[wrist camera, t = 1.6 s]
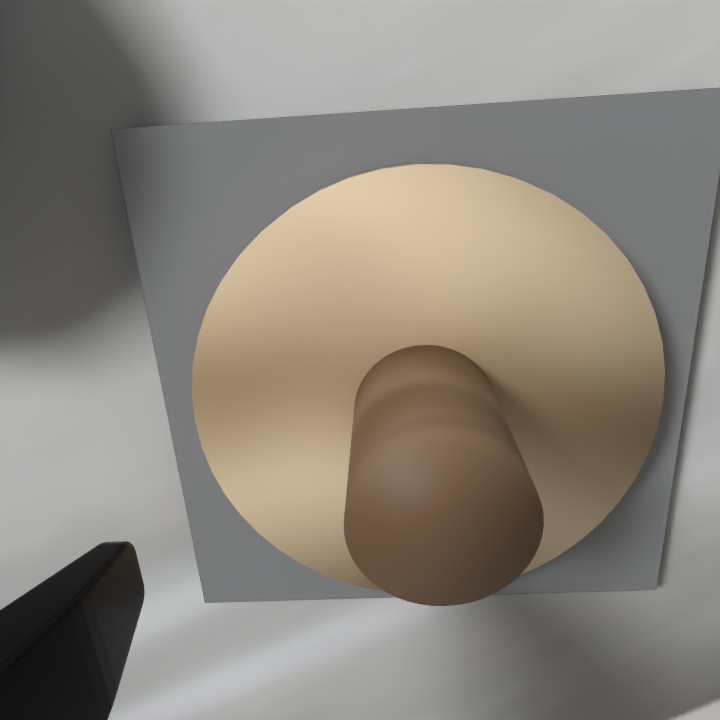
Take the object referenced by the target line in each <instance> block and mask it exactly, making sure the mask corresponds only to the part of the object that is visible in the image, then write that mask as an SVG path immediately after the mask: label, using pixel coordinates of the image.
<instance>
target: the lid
mask: <svg viewBox="0 0 720 720" xmlns="http://www.w3.org/2000/svg"><path fill="white" fill-rule="evenodd" d="M664 381H665V365H664V354H663V342H662V338H661V334H660V330H659V326H658V322H657V318H656V314H655V311H654V309H653V307H652V304H651V302H650V299H649V297H648V295H647V292H646V290H645V287H644V285H643V283H642V282H641V280H640V279H639V277H638V275H637V274H636V272H635V270H634V269H633V267H632V265H631V264H630V262H629V261H628V259H627V258H626V257H625V255H624V254H623V253H622V252H621V251H620V249H619V248H618V247H617V246H616V245H615V244H614V242H613V241H612V240H611V239H610V238H609V236H608V235H607V234H606V233H605V232H603V231H602V230H601V229H600V228H599V227H598V226H597V225H595V224H594V223H593V222H592V221H591V220H590V219H589V218H587V217H586V216H585V215H584V214H583V213H582V212H580V211H578V210H577V209H575V208H574V207H572V206H571V205H569V204H567V203H566V202H564V201H563V200H561V199H560V198H558V197H556V196H555V195H553V194H551V193H549V192H547V191H544V190H542V189H540V188H538V187H536V186H533V185H531V184H529V183H527V182H524V181H522V180H519V179H516V178H514V177H511V176H507V175H504V174H500V173H497V172H493V171H490V170H486V169H483V168H479V167H472V166H465V165H458V164H451V163H410V164H403V165H395V166H388V167H381V168H378V169H374V170H370V171H367V172H363V173H360V174H356V175H352V176H349V177H347V178H345V179H342V180H340V181H338V182H335V183H333V184H331V185H328V186H326V187H324V188H322V189H320V190H318V191H316V192H315V193H313V194H311V195H310V196H308V197H306V198H305V199H303V200H301V201H300V202H298V203H297V204H295V205H293V206H292V207H291V208H290V209H288V210H287V211H286V212H285V213H283V214H282V215H281V216H280V217H279V218H277V219H276V220H275V221H274V222H272V223H271V224H270V225H269V226H268V227H266V228H265V229H264V230H263V231H262V232H260V234H259V235H258V236H257V237H256V238H255V239H254V240H253V241H252V242H251V243H250V244H249V245H248V246H247V248H246V249H245V250H244V251H243V252H242V253H241V254H240V255H239V256H238V258H237V259H236V260H235V262H234V263H233V265H232V266H231V268H230V269H229V271H228V272H227V273H226V275H225V276H224V278H223V279H222V281H221V282H220V284H219V286H218V288H217V290H216V292H215V294H214V296H213V298H212V300H211V302H210V304H209V306H208V308H207V310H206V313H205V316H204V320H203V323H202V326H201V329H200V332H199V335H198V338H197V344H196V349H195V355H194V361H193V370H192V400H193V409H194V417H195V423H196V427H197V431H198V435H199V439H200V442H201V446H202V449H203V451H204V454H205V456H206V459H207V461H208V464H209V466H210V468H211V471H212V473H213V475H214V476H215V478H216V480H217V481H218V483H219V485H220V487H221V488H222V490H223V492H224V494H225V495H226V496H227V498H228V499H229V500H230V502H231V503H232V504H233V506H234V507H235V508H236V509H237V511H238V512H239V513H240V515H241V516H242V517H243V518H244V519H245V520H246V521H247V522H248V523H249V524H250V525H251V526H252V527H253V528H254V529H255V530H256V531H257V532H258V533H259V534H260V535H261V536H262V537H264V538H265V539H266V540H268V541H269V542H270V543H271V544H273V545H274V546H275V547H276V548H278V549H279V550H280V551H282V552H283V553H285V554H287V555H288V556H290V557H291V558H293V559H295V560H296V561H298V562H299V563H301V564H303V565H305V566H307V567H309V568H311V569H313V570H315V571H317V572H319V573H322V574H324V575H326V576H329V577H331V578H334V579H337V580H340V581H343V582H346V583H349V584H352V585H356V586H360V587H365V588H369V589H373V590H378V591H385V592H387V593H389V594H391V595H393V596H395V597H397V598H400V599H403V600H406V601H409V602H413V603H417V604H423V605H431V606H450V605H459V604H465V603H470V602H473V601H477V600H480V599H483V598H485V597H487V596H490V595H492V594H494V593H496V592H498V591H500V590H501V589H503V588H505V587H506V586H507V585H509V584H510V583H512V582H513V581H514V580H515V579H516V578H517V577H518V576H520V575H521V574H523V573H526V572H528V571H531V570H533V569H535V568H537V567H539V566H541V565H543V564H544V563H546V562H548V561H550V560H552V559H554V558H555V557H557V556H559V555H560V554H562V553H563V552H565V551H566V550H567V549H569V548H570V547H572V546H573V545H575V544H576V543H578V542H579V541H580V540H582V539H583V538H584V537H585V536H586V535H587V534H588V533H589V532H591V531H592V530H593V529H594V528H595V527H596V526H597V525H599V524H600V523H601V522H602V521H603V520H604V518H605V517H606V516H607V515H608V514H609V513H610V512H611V511H612V510H613V508H614V507H615V506H616V505H617V504H618V503H619V502H620V500H621V499H622V497H623V496H624V494H625V493H626V492H627V490H628V489H629V487H630V486H631V484H632V483H633V482H634V480H635V479H636V477H637V475H638V473H639V471H640V469H641V467H642V465H643V463H644V461H645V459H646V457H647V455H648V453H649V450H650V448H651V445H652V442H653V439H654V436H655V434H656V431H657V428H658V423H659V419H660V414H661V409H662V404H663V398H664Z"/></svg>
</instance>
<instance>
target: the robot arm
mask: <svg viewBox="0 0 720 720" xmlns="http://www.w3.org/2000/svg"><path fill="white" fill-rule="evenodd" d="M143 601H144V584H143V579H142V575H141V571H140V567H139V563H138V559H137V555H136V551H135V548H134V546H133V545H132V544H131V543H130V542H127V541H122V542H104V543H101V544H99V545H98V546H96V547H95V548H93V549H92V550H90V551H89V552H87V553H86V554H84V555H83V556H81V557H80V558H78V559H77V560H75V561H74V562H72V563H71V564H69V565H67V566H66V567H64V568H63V569H61V570H60V571H58V572H57V573H55V574H54V575H52V576H51V577H49V578H48V579H46V580H45V581H43V582H42V583H40V584H39V585H37V586H36V587H34V588H33V589H31V590H30V591H28V592H27V593H25V594H24V595H22V596H21V597H19V598H18V599H16V600H15V601H13V602H12V603H10V604H9V605H7V606H6V607H4V608H3V609H1V610H0V720H108V717H109V714H110V712H111V709H112V706H113V703H114V700H115V697H116V694H117V691H118V687H119V684H120V681H121V677H122V674H123V670H124V667H125V663H126V660H127V657H128V653H129V650H130V646H131V643H132V639H133V636H134V632H135V629H136V626H137V622H138V619H139V615H140V612H141V608H142V605H143Z"/></svg>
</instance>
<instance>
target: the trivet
mask: <svg viewBox="0 0 720 720" xmlns="http://www.w3.org/2000/svg"><path fill="white" fill-rule="evenodd" d="M110 131H111V136H112V141H113V146H114V151H115V156H116V161H117V166H118V171H119V176H120V181H121V186H122V191H123V196H124V201H125V206H126V211H127V216H128V221H129V226H130V230H131V235H132V240H133V245H134V250H135V255H136V260H137V265H138V270H139V275H140V280H141V285H142V290H143V295H144V300H145V305H146V310H147V315H148V320H149V325H150V330H151V335H152V340H153V345H154V350H155V355H156V360H157V365H158V370H159V375H160V380H161V385H162V390H163V395H164V400H165V405H166V410H167V415H168V420H169V425H170V430H171V435H172V440H173V445H174V450H175V455H176V460H177V465H178V470H179V475H180V480H181V485H182V490H183V495H184V500H185V505H186V510H187V515H188V520H189V525H190V530H191V535H192V540H193V545H194V550H195V555H196V560H197V565H198V570H199V575H200V580H201V585H202V590H203V595H204V600H205V603H216V602H251V601H286V600H321V599H356V598H391V597H395V596H393V595H391V594H389V593H387V592H385V591H378V590H373V589H369V588H365V587H360V586H356V585H352V584H349V583H346V582H343V581H340V580H337V579H334V578H331V577H329V576H326V575H324V574H322V573H319V572H317V571H315V570H313V569H311V568H309V567H307V566H305V565H303V564H301V563H299V562H298V561H296V560H295V559H293V558H291V557H290V556H288V555H287V554H285V553H283V552H282V551H280V550H279V549H278V548H276V547H275V546H274V545H273V544H271V543H270V542H269V541H268V540H266V539H265V538H264V537H262V536H261V535H260V534H259V533H258V532H257V531H256V530H255V529H254V528H253V527H252V526H251V525H250V524H249V523H248V522H247V521H246V520H245V519H244V518H243V517H242V516H241V515H240V513H239V512H238V511H237V509H236V508H235V507H234V506H233V504H232V503H231V502H230V500H229V499H228V498H227V496H226V495H225V494H224V492H223V490H222V488H221V487H220V485H219V483H218V481H217V480H216V478H215V476H214V475H213V473H212V471H211V468H210V466H209V464H208V461H207V459H206V456H205V454H204V451H203V449H202V446H201V442H200V439H199V435H198V431H197V427H196V423H195V417H194V409H193V400H192V370H193V361H194V355H195V349H196V344H197V338H198V335H199V332H200V329H201V326H202V323H203V320H204V316H205V313H206V310H207V308H208V306H209V304H210V302H211V300H212V298H213V296H214V294H215V292H216V290H217V288H218V286H219V284H220V282H221V281H222V279H223V278H224V276H225V275H226V273H227V272H228V271H229V269H230V268H231V266H232V265H233V263H234V262H235V260H236V259H237V258H238V256H239V255H240V254H241V253H242V252H243V251H244V250H245V249H246V248H247V246H248V245H249V244H250V243H251V242H252V241H253V240H254V239H255V238H256V237H257V236H258V235H259V234H260V232H262V231H263V230H264V229H265V228H266V227H268V226H269V225H270V224H271V223H272V222H274V221H275V220H276V219H277V218H279V217H280V216H281V215H282V214H283V213H285V212H286V211H287V210H288V209H290V208H291V207H292V206H293V205H295V204H297V203H298V202H300V201H301V200H303V199H305V198H306V197H308V196H310V195H311V194H313V193H315V192H316V191H318V190H320V189H322V188H324V187H326V186H328V185H331V184H333V183H335V182H338V181H340V180H342V179H345V178H347V177H349V176H352V175H356V174H360V173H363V172H367V171H370V170H374V169H378V168H381V167H388V166H395V165H403V164H410V163H451V164H458V165H465V166H472V167H479V168H483V169H486V170H490V171H493V172H497V173H500V174H504V175H507V176H511V177H514V178H516V179H519V180H522V181H524V182H527V183H529V184H531V185H533V186H536V187H538V188H540V189H542V190H544V191H547V192H549V193H551V194H553V195H555V196H556V197H558V198H560V199H561V200H563V201H564V202H566V203H567V204H569V205H571V206H572V207H574V208H575V209H577V210H578V211H580V212H582V213H583V214H584V215H585V216H586V217H587V218H589V219H590V220H591V221H592V222H593V223H594V224H595V225H597V226H598V227H599V228H600V229H601V230H602V231H603V232H605V233H606V234H607V235H608V236H609V238H610V239H611V240H612V241H613V242H614V244H615V245H616V246H617V247H618V248H619V249H620V251H621V252H622V253H623V254H624V255H625V257H626V258H627V259H628V261H629V262H630V264H631V265H632V267H633V269H634V270H635V272H636V274H637V275H638V277H639V279H640V280H641V282H642V283H643V285H644V287H645V290H646V292H647V295H648V297H649V299H650V302H651V304H652V307H653V309H654V311H655V314H656V318H657V322H658V326H659V330H660V334H661V338H662V342H663V354H664V365H665V381H664V398H663V404H662V409H661V414H660V419H659V423H658V428H657V431H656V434H655V436H654V439H653V442H652V445H651V448H650V450H649V453H648V455H647V457H646V459H645V461H644V463H643V465H642V467H641V469H640V471H639V473H638V475H637V477H636V479H635V480H634V482H633V483H632V484H631V486H630V487H629V489H628V490H627V492H626V493H625V494H624V496H623V497H622V499H621V500H620V502H619V503H618V504H617V505H616V506H615V507H614V508H613V510H612V511H611V512H610V513H609V514H608V515H607V516H606V517H605V518H604V520H603V521H602V522H601V523H600V524H599V525H597V526H596V527H595V528H594V529H593V530H592V531H591V532H589V533H588V534H587V535H586V536H585V537H584V538H583V539H582V540H580V541H579V542H578V543H576V544H575V545H573V546H572V547H570V548H569V549H567V550H566V551H565V552H563V553H562V554H560V555H559V556H557V557H555V558H554V559H552V560H550V561H548V562H546V563H544V564H543V565H541V566H539V567H537V568H535V569H533V570H531V571H528V572H526V573H523V574H521V575H520V576H518V577H517V578H516V579H515V580H514V581H513V582H512V583H510V584H509V585H507V586H506V587H505V588H503V589H501V590H500V591H498V592H496V593H494V594H492V595H496V594H531V593H566V592H601V591H636V590H656V589H657V582H658V576H659V569H660V562H661V556H662V549H663V543H664V536H665V530H666V523H667V516H668V510H669V503H670V497H671V490H672V483H673V477H674V470H675V464H676V457H677V451H678V444H679V437H680V431H681V424H682V418H683V411H684V404H685V398H686V391H687V385H688V378H689V372H690V365H691V358H692V352H693V345H694V339H695V332H696V325H697V319H698V312H699V306H700V299H701V293H702V286H703V279H704V273H705V266H706V260H707V253H708V246H709V240H710V233H711V227H712V220H713V214H714V207H715V200H716V194H717V187H718V181H719V174H720V88H707V89H693V90H678V91H663V92H648V93H634V94H619V95H604V96H589V97H575V98H560V99H545V100H531V101H516V102H501V103H486V104H472V105H457V106H442V107H427V108H413V109H398V110H383V111H369V112H354V113H339V114H324V115H310V116H295V117H280V118H265V119H251V120H236V121H221V122H207V123H192V124H177V125H162V126H148V127H133V128H118V129H110Z"/></svg>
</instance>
